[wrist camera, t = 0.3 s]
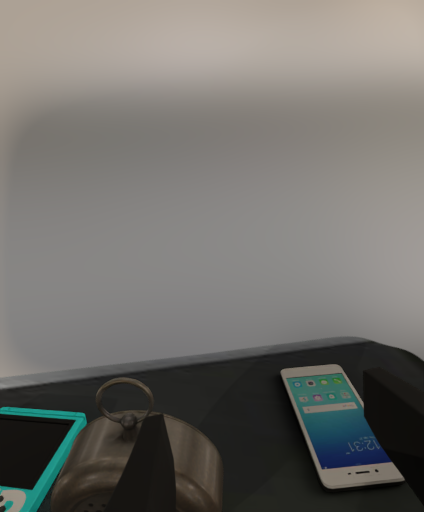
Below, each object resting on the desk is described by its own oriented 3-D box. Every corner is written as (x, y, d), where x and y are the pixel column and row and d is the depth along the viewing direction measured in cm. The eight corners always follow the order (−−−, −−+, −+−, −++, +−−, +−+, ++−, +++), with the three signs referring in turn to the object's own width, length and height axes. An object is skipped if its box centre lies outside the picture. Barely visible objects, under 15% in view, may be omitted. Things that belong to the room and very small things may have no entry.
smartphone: (339, 363, 45) (411, 478, 31) (339, 369, 45) (410, 485, 31) (278, 368, 44) (323, 487, 30) (278, 374, 45) (322, 494, 31)
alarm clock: (226, 522, 29) (218, 350, 23) (223, 608, 24) (212, 418, 18) (91, 516, 30) (48, 349, 24) (61, 599, 25) (-2, 414, 19)
